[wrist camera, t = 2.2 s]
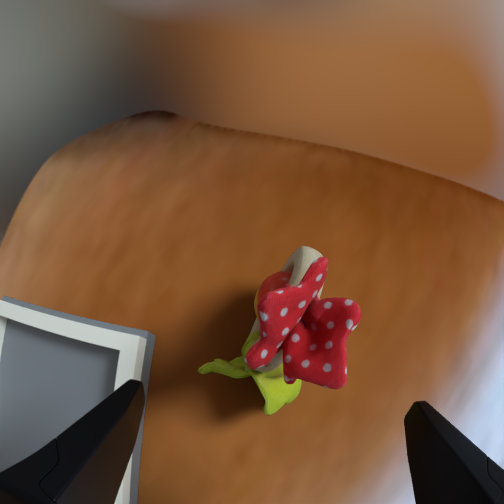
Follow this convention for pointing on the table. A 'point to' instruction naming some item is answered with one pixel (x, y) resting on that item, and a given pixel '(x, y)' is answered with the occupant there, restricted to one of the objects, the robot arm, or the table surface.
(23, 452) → the base plate
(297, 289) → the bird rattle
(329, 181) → the table surface
